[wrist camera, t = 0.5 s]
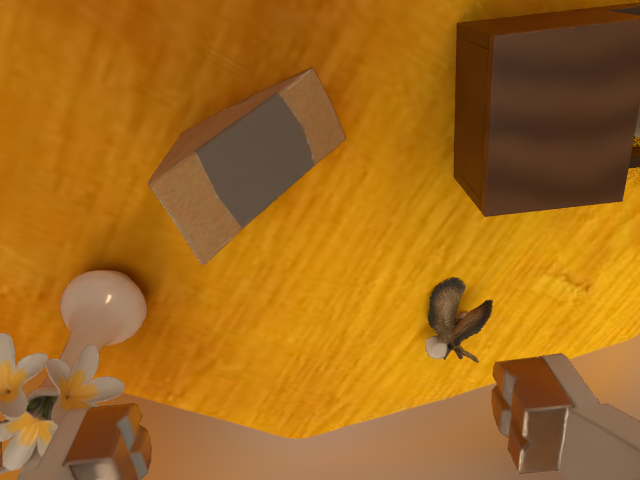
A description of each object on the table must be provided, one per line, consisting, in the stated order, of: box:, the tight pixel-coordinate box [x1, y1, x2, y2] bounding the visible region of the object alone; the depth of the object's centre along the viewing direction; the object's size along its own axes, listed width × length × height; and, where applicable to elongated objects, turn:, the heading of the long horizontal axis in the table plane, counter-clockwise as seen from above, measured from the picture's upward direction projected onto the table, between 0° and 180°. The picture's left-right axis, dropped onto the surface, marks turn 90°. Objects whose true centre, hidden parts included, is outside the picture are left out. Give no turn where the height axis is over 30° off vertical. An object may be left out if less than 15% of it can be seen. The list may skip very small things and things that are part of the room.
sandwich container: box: [148, 68, 346, 265], centre depth 49 cm, size 9×15×15 cm, turn 115°
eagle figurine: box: [425, 278, 493, 363], centre depth 65 cm, size 8×7×9 cm
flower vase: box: [0, 270, 150, 480], centre depth 52 cm, size 13×18×25 cm
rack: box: [454, 3, 640, 217], centre depth 50 cm, size 16×27×10 cm, turn 96°
